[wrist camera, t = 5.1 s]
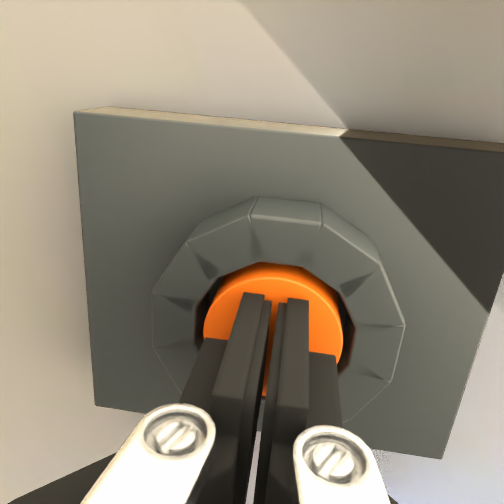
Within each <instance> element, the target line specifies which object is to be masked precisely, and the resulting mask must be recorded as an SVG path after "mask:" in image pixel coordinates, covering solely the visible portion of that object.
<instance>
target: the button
mask: <svg viewBox="0 0 504 504" xmlns="http://www.w3.org/2000/svg"><path fill="white" fill-rule="evenodd" d="M243 292H248V293H256V294H264V295H265V298H264V300H267V301H272V308H271V317H270V326H269V335H268V345H267V354H266V363H265V372H264V381H263V390H262V396H266V391H267V383H268V376H269V369H270V362H271V355H272V347H273V340H274V333H275V326H276V319H277V312H278V304H279V302H282V303H287V300H288V298H295V299H303V300H309V351H310V352H317V353H324V354H331V355H335V356H336V362H337V363H338V361H339V358H340V356H341V352H342V346H343V333H342V325H341V318H340V310H339V302H338V297H337V294H336V291H335V290H334V289H333V288H332V287H330V286H329V285H327V284H326V283H324V282H323V281H322V280H320V279H319V278H317V277H316V276H314V275H313V274H311V273H310V272H309V271H307V270H306V269H304V268H303V267H299V266H291V265H283V264H275V263H267V262H257V263H254V264H252V265H249V266H247V267H244V268H242V269H239V270H237V271H234V272H231V273H229V274H226V275H225V276H224V278H223V279H222V281H221V283H220V286H219V288H218V290H217V292H216V295H215V297H214V299H213V301H212V304H211V306H210V308H209V311H208V313H207V315H206V318H205V322H204V329H203V335H204V339H205V338H206V337H208V338H216V339H223V340H229V337H230V334H231V330H232V327H233V324H234V321H235V318H236V314H237V311H238V308H239V305H240V302H241V298H242V295H243Z"/></svg>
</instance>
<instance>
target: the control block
mask: <svg viewBox="0 0 504 504" xmlns="http://www.w3.org/2000/svg"><path fill="white" fill-rule="evenodd" d="M73 115H74V128H75V142H76V155H77V169H78V182H79V196H80V209H81V223H82V236H83V250H84V263H85V277H86V290H87V304H88V318H89V331H90V345H91V358H92V372H93V385H94V399H95V405H96V406H101V407H107V408H114V409H120V410H126V411H133V412H139V413H146V414H147V413H149V412H150V411H152V410H154V409H156V408H157V407H160V406H164V405H167V404H175V403H178V402H179V400H180V397H181V395H182V392H183V390H184V388H185V385H186V383H187V380H188V378H189V375H190V373H191V370H192V368H193V365H194V363H195V361H196V358H197V356H198V353H199V351H200V348H201V346H202V343H203V341H204V335H203V329H204V322H205V318H206V315H207V313H208V311H209V308H210V306H211V304H212V301H213V299H214V297H215V295H216V292H217V290H218V288H219V286H220V283H221V281H222V279H223V278H224V276H225V275H226V274H229V273H231V272H234V271H237V270H239V269H242V268H244V267H247V266H249V265H252V264H254V263H257V262H267V263H275V264H283V265H291V266H299V267H303V268H304V269H306V270H307V271H309V272H310V273H311V274H313V275H314V276H316V277H317V278H319V279H320V280H322V281H323V282H324V283H326V284H327V285H329V286H330V287H332V288H333V289H334V290H335V291H336V294H337V297H338V302H339V310H340V318H341V325H342V333H343V346H342V352H341V356H340V358H339V361H338V363H337V372H338V383H339V393H340V403H341V414H342V424H343V429H345V430H347V431H350V432H351V433H353V434H354V435H356V436H357V437H359V438H360V439H361V440H362V441H363V442H364V443H365V444H366V445H367V446H368V447H369V448H371V449H377V450H384V451H390V452H397V453H403V454H410V455H416V456H422V457H429V458H435V459H442V457H443V454H444V451H445V448H446V445H447V442H448V439H449V436H450V433H451V430H452V427H453V424H454V421H455V418H456V415H457V412H458V408H459V405H460V402H461V399H462V396H463V393H464V390H465V387H466V384H467V381H468V378H469V375H470V372H471V369H472V366H473V363H474V360H475V357H476V354H477V351H478V348H479V345H480V342H481V339H482V335H483V332H484V329H485V326H486V323H487V320H488V317H489V314H490V311H491V308H492V305H493V302H494V299H495V296H496V293H497V290H498V287H499V284H500V281H501V278H502V275H503V272H504V144H502V143H491V142H480V141H470V140H459V139H449V138H438V137H427V136H417V135H406V134H395V133H385V132H374V131H364V130H353V129H342V128H332V127H321V126H310V125H300V124H289V123H279V122H268V121H257V120H247V119H236V118H225V117H215V116H204V115H194V114H183V113H172V112H162V111H151V110H140V109H130V108H119V107H102V108H94V109H87V110H79V111H74V113H73ZM265 398H266V396H262V398H261V404H260V411H259V418H258V424H257V431H261V432H262V423H263V414H264V406H265Z"/></svg>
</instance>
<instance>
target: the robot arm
mask: <svg viewBox="0 0 504 504" xmlns="http://www.w3.org/2000/svg"><path fill="white" fill-rule="evenodd" d="M264 298H265V295H264V294H256V293H248V292H243V295H242V298H241V302H240V305H239V308H238V311H237V314H236V318H235V321H234V324H233V327H232V330H231V334H230V337H229V340H223V339H216V338H208V337H206V338H205V339H204V341H203V343H202V346H201V348H200V351H199V353H198V356H197V358H196V361H195V363H194V365H193V368H192V370H191V373H190V375H189V378H188V380H187V383H186V385H185V388H184V390H183V392H182V395H181V397H180V400H179V402H178V403H175V404H167V405H164V406H160V407H157V408H156V409H154V410H152V411H150V412H149V413H147V414H146V415H145V416H144V417H143V418H142V419H141V420H140V422H139V423H138V424H137V426H136V427H135V428H134V430H133V431H132V433H131V434H130V435H129V437H128V438H127V439H126V441H125V442H124V444H123V445H122V446H121V448H120V449H119V451H118V452H117V453H114V454H112V455H110V456H108V457H106V458H104V459H101V460H99V461H97V462H95V463H93V464H91V465H88V466H86V467H84V468H82V469H80V470H78V471H75V472H73V473H71V474H69V475H67V476H65V477H62V478H60V479H58V480H56V481H54V482H51V483H49V484H47V485H45V486H43V487H41V488H38V489H36V490H34V491H32V492H30V493H28V494H25V495H23V496H21V497H19V498H17V499H15V500H13V501H11V502H10V503H8V504H245V503H246V497H247V490H248V484H249V477H250V470H251V464H252V457H253V451H254V444H255V437H256V431H257V424H258V418H259V411H260V404H261V398H262V390H263V381H264V372H265V363H266V354H267V345H268V335H269V326H270V317H271V308H272V301H267V300H264ZM253 504H398V503H397V502H396V501H395V500H394V499H392V498H391V497H390V496H389V495H388V494H387V492H386V489H385V486H384V484H383V481H382V478H381V475H380V472H379V469H378V467H377V464H376V461H375V458H374V456H373V454H372V452H371V450H370V449H369V447H368V446H367V445H366V444H365V443H364V442H363V441H362V440H361V439H360V438H359V437H357V436H356V435H354V434H353V433H351V432H350V431H347V430H345V429H343V424H342V414H341V403H340V393H339V383H338V372H337V362H336V356H335V355H331V354H324V353H317V352H310V351H309V300H303V299H295V298H288V300H287V303H282V302H279V304H278V312H277V319H276V326H275V333H274V340H273V347H272V355H271V362H270V369H269V376H268V383H267V391H266V398H265V406H264V414H263V423H262V432H261V441H260V449H259V458H258V467H257V476H256V485H255V493H254V502H253Z"/></svg>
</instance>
